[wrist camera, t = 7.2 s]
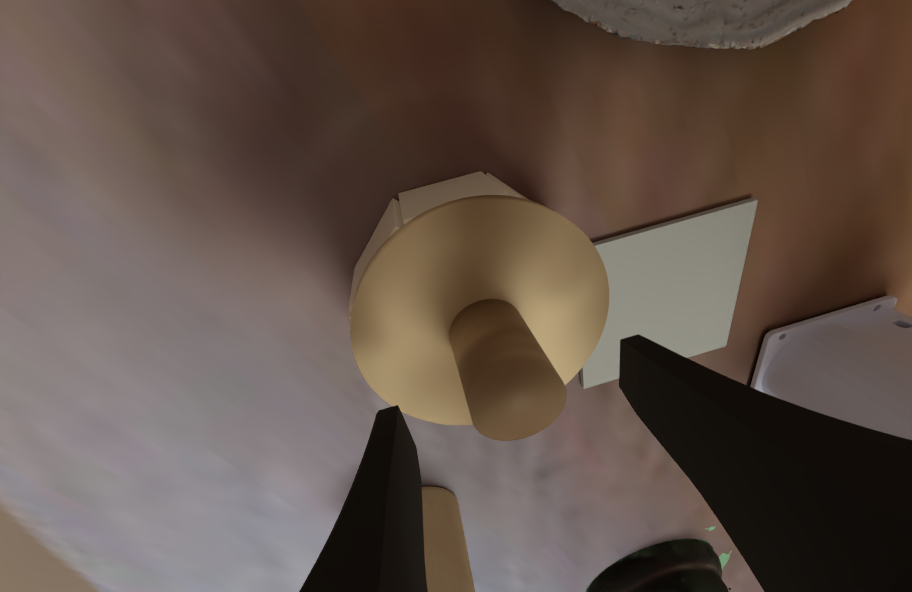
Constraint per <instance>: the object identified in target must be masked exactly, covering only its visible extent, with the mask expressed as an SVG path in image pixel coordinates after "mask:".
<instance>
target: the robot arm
mask: <svg viewBox="0 0 912 592" xmlns="http://www.w3.org/2000/svg"><path fill="white" fill-rule="evenodd" d="M896 303H897V298H896V297H893V296H891V295H887V296H884V297H880V298H877V299H874V300H870V301H867V302H864V303H860V304H857V305H854V306H850V307H847V308H844V309H840V310H837V311H834V312H831V313H827V314H824V315H821V316H817V317H814V318H811V319H807V320H804V321H801V322H797V323H794V324H791V325H787V326H784V327H781V328H777V329H774V330H771V331H769V332H768V333H767V334H766V335H765V337H764V340H763V343H762V347H761V350H760V354H759V357H758V361H757V364H756V368H755V371H754V375H753V378H752V382H751V385H750V387H749V386H747V385H744V384H742V383H740V382H737V381H735V380H733V379H730V378H728V377H726V376H724V375H721V374H719V373H717V372H715V371H713V370H711V369H708V368H706V367H704V366H702V365H700V364H698V363H696V362H694V361H692V360H690V359H688V358H686V357H684V356H682V355H680V354H678V353H676V352H673V351H671V350H669V349H667V348H666V347H664V346H662V345H660V344H658V343H656V342H654V341H651V340H649V339H647V338H645V337H643V336H641V335H639V334H638V335H634V336H631V337H627V338H624V339H621V340H620V367H619V387H620V388H621V390H622V392H623V393H624V395H625V397H626V398H627V400H628V401H629V403H630V405H631V406H632V408H633V409H634V411H635V412H636V414H637V415H638V416H639V418H640V419H641V420H642V421H643V423H644V424H645V425H646V426H647V428H648V429H649V430H650V431H651V433H652V434H653V435H654V436H655V437H656V439H657V440H658V441H659V442H660V444H661V445H662V446H663V447H664V448H665V450H666V451H667V452H668V453H669V454H670V456H671V457H672V458H673V459H674V461H675V462H676V463H677V464H678V465H679V467H680V468H681V469H682V470H683V472H684V473H685V474H686V475H687V476H688V478H689V479H690V480H691V482H692V483H693V484H694V486H695V487H696V488H697V489H698V491H699V492H700V493H701V495H702V496H703V498H704V499H705V501H706V502H707V504H708V505H709V507H710V508H711V510H712V511H713V512H714V514H715V515H716V517H717V518H718V520H719V521H720V523H721V524H722V526H723V527H724V529H725V530H726V532H727V533H728V535H729V536H730V538H731V539H732V541H733V543H734V544H735V546H736V547H737V549H738V550H739V552H740V553H741V555H742V556H743V558H744V559H745V561H746V562H747V564H748V566H749V567H750V569H751V571H752V572H753V574H754V575H755V577H756V579H757V580H758V582H759V583H760V585H761V587H762V588H763V590H764V592H912V317H911V316H908V315H906V314H904V313H901V312H899V311H896V310H894V307H895V305H896ZM299 592H428V589H427V581H426V569H425V554H424V530H423V507H422V486H421V475H420V468H419V462H418V455H417V449H416V445H415V443H414V441H413V438H412V436H411V434H410V431H409V429H408V427H407V424H406V422H405V420H404V417H403V415H402V413H401V411H400V408H399V406H398V405H396V406H393V407H389V408H386V409H383V410H379V411H378V413H377V414H376V418H375V421H374V424H373V428H372V431H371V434H370V437H369V440H368V443H367V446H366V449H365V452H364V455H363V458H362V461H361V463H360V466H359V469H358V471H357V474H356V477H355V479H354V482H353V484H352V487H351V489H350V491H349V494H348V496H347V498H346V501H345V503H344V505H343V508H342V510H341V512H340V515H339V517H338V519H337V521H336V523H335V525H334V527H333V529H332V531H331V534H330V536H329V538H328V540H327V542H326V544H325V545H324V547H323V549H322V551H321V553H320V555H319V557H318V559H317V561H316V563H315V564H314V566H313V568H312V570H311V572H310V573H309V575H308V577H307V579H306V581H305V582H304V584H303V586H302V588H301V590H300V591H299Z"/></svg>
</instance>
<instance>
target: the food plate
mask: <svg viewBox="0 0 912 592" xmlns="http://www.w3.org/2000/svg"><path fill="white" fill-rule="evenodd" d="M552 1H554V3H556V2H557V5H558V6H560V7H561V8H562V9H563V10H565V11H569V12H572V13H574V14H576V15H578V16H579V17H580V18H583V19H584V21H585V22H587V23H588V22H590V23H593V24H595V25H597V26H599V27H600V28H603V29H604V28H605V30H606V32H607V33H608V32H609V31H610V32H611V33H613V34H612V35H614V34H616V35H620V36H621V37H628V38H631V39H632V40H633V39H634V40H636V41H637V42H641V40H643V41H645V42H648V43H651V44H660V45H668V46H671V45H675V44H676V46H679V45H683V46H684V47H692V48H694V47H695V48H696V47H697V48H701V47H704V48H716V49H719V48H721V49H726V48H733V47H734V46H735V47H734V49H740V48H747V50H752V49H753V48H754V49H757V48H761V47H765V46H766V45H767V44H768V45H770V44H771V43H773V42H775V41H779V40H781V39H782V38H783V37H785V36H786V35H787V34H788V35H789V34H790V33H791V32H792V31H793V32H794V31H795V32H797V31H798V30H799V28H802V27H805V26H806V25H807V24H809V23H811V21H812V20H813V19H817V20H818V19H819V18H821V19H823V18H824V17H826V16H828V15H829V14H831V13H833V12H834V11H835V12H836V13H837V12H838V10H840V9H841V8H843V7H844V6H845V8H846V7H847V6H848V4H849V3H850V2H851V1H852V0H552ZM571 15H572V14H571ZM604 32H605V31H604ZM611 33H609V34H611ZM616 35H614V36H616ZM620 36H616V37H618V38H620ZM622 39H623V38H622ZM676 46H675V47H676Z"/></svg>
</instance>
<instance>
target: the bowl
mask: <svg viewBox="0 0 912 592" xmlns="http://www.w3.org/2000/svg"><path fill="white" fill-rule="evenodd" d="M480 195H507V196H513V197H520V198H524V199H527V198H526V197H524V196H523V195H521V194H520V193H518V192H517V191H515V190H514V189H512V188H511V187H509V186H508V185H506V184H505V183H503V182H502V181H500V180H499V179H497V178H496V177H494V176H493V175H491V174H490V173H488V172H487V174H484V173H483V172H482V171H479V172H475V173H472V174H468V175H464V176H460V177H457V178H453V179H449V180H445V181H442V182H438V183H434V184H431V185H427V186H423V187H419V188H416V189H412V190H408V191H405V192H401V193H398V196H399V201H398V200H396V199H394V198H392V199H391V201H390V203H389V205H388V207H387V209H386V210H385V212H384V214H383V216H382V218H381V220H380V222H379V223H378V225H377V227H376V229H375V231H374V233H373V234H372V236H371V238H370V240H369V242H368V244H367V246H366V247H365V249H364V251H363V253H362V255H361V257H360V259H359V260H358V262H357V264H356V266H355V268H354V275H353V281H352V288H351V294H350V301H349V307H348V311H349V312H348V320H349V322H350V324H351V315H352V308H353V302H354V298H355V293H356V289H357V286H358V284H359V281H360V279H361V276H362V274H363V272H364V270H365V268H366V267H367V265H368V263H369V261H370V260H371V258H372V257H373V256H374V254H375V253H376V252H377V250H378V249H379V248H380V246H381V245H382V244H383V243H384V242H385V241H386V240H387V239H388V238H389V237H390V236H391V235H392V234H393V233H394V232H395V231H396V230H398V229H399V228H400V227H402V226H403V225H404V224H406V223H407V222H408V221H410V220H411V219H413V218H414V217H416V216H418V215H420V214H422V213H423V212H425V211H427V210H429V209H431V208H434V207H436V206H439V205H441V204H444V203H446V202H449V201H453V200H457V199H461V198H465V197H472V196H480ZM527 200H529V199H527Z"/></svg>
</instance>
